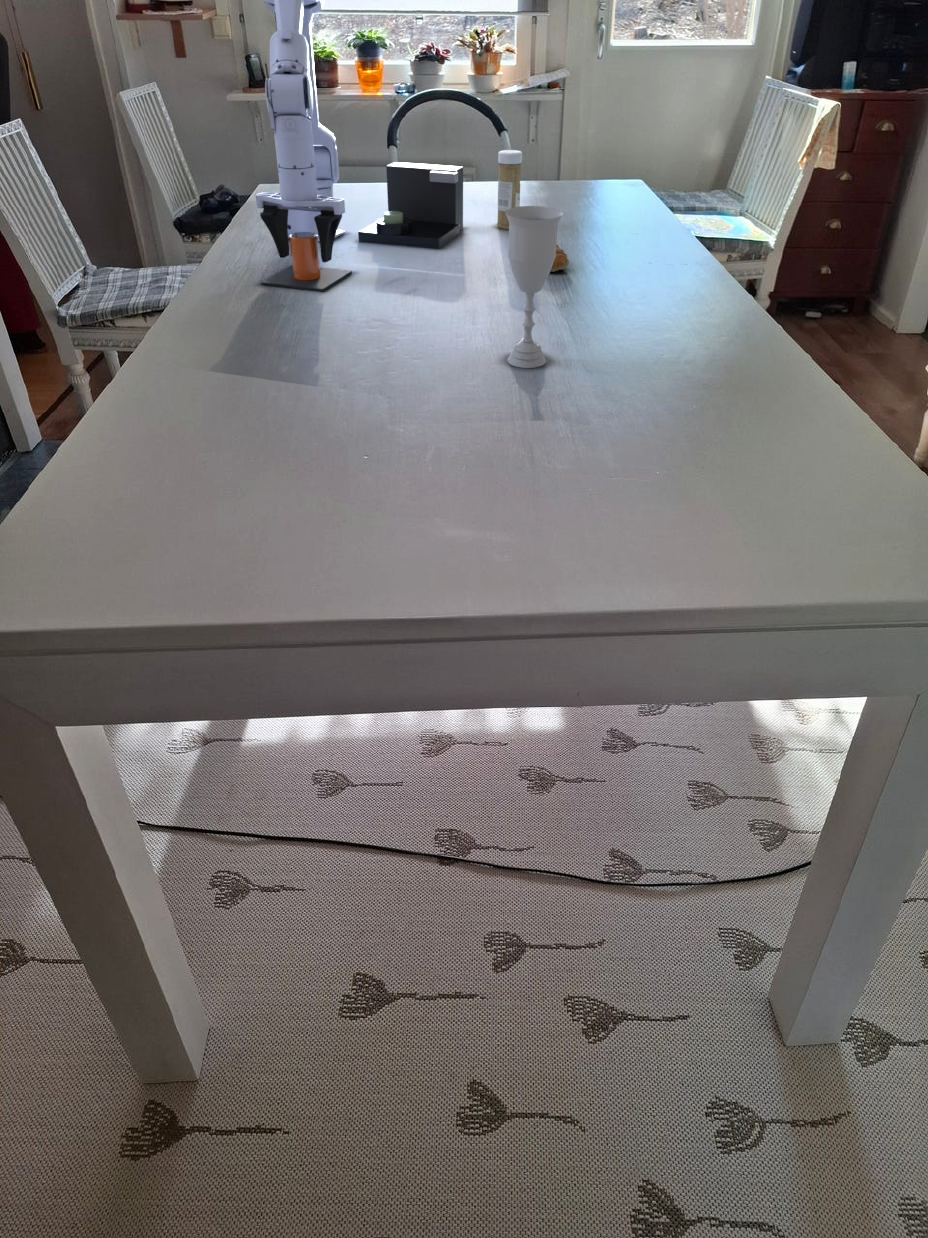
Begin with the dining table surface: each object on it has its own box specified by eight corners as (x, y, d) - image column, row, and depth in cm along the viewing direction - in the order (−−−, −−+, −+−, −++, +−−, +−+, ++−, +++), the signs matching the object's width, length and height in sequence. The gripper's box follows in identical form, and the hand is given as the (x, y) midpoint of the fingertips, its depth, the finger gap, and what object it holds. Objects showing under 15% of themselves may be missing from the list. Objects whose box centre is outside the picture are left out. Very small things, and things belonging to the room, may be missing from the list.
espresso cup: (289, 278, 142) (284, 236, 138) (301, 271, 145) (297, 230, 141) (313, 281, 141) (309, 238, 137) (325, 274, 144) (321, 232, 140)
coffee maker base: (358, 242, 162) (356, 222, 160) (383, 227, 172) (382, 208, 170) (438, 249, 158) (438, 229, 156) (460, 234, 168) (460, 214, 166)
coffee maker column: (385, 229, 170) (382, 167, 164) (397, 222, 175) (395, 161, 169) (454, 236, 167) (454, 172, 160) (465, 228, 172) (465, 166, 165)
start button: (381, 224, 161) (380, 214, 160) (388, 220, 163) (388, 210, 162) (399, 226, 160) (398, 215, 159) (406, 221, 162) (405, 211, 161)
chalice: (497, 351, 117) (501, 206, 106) (547, 350, 117) (556, 205, 106) (504, 371, 111) (509, 220, 100) (556, 370, 111) (567, 219, 100)
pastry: (578, 270, 148) (580, 247, 146) (545, 276, 145) (547, 252, 143) (546, 257, 154) (547, 234, 152) (514, 263, 152) (515, 240, 149)
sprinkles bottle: (523, 227, 172) (527, 151, 164) (505, 230, 170) (507, 153, 162) (510, 223, 175) (513, 148, 167) (491, 225, 173) (493, 150, 165)
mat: (261, 284, 140) (261, 282, 140) (293, 267, 149) (293, 264, 149) (323, 291, 138) (322, 288, 137) (351, 273, 146) (351, 270, 146)
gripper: (241, 166, 132) (253, 260, 140) (327, 173, 128) (335, 268, 136) (264, 159, 137) (274, 249, 145) (347, 165, 134) (354, 257, 142)
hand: (305, 258), depth 141 cm, fingers open, 7 cm apart
